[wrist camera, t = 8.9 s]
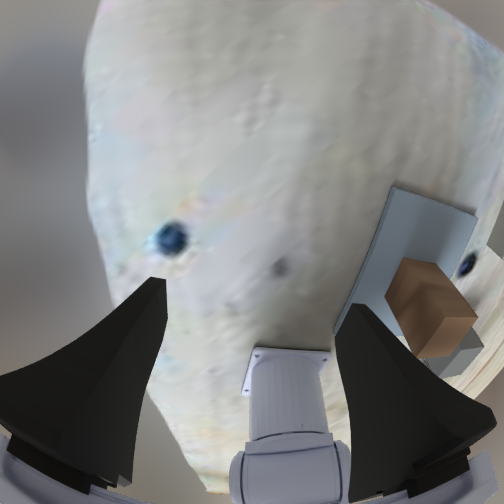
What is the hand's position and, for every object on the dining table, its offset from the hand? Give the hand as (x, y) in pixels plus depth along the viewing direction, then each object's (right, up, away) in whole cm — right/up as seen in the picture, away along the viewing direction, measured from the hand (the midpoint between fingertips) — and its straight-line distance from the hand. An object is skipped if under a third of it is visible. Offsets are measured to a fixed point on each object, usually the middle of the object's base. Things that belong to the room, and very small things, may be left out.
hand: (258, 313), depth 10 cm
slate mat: (+13, 0, +11) cm, 17 cm away
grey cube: (+23, -8, +15) cm, 29 cm away
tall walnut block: (+13, 0, +10) cm, 17 cm away
